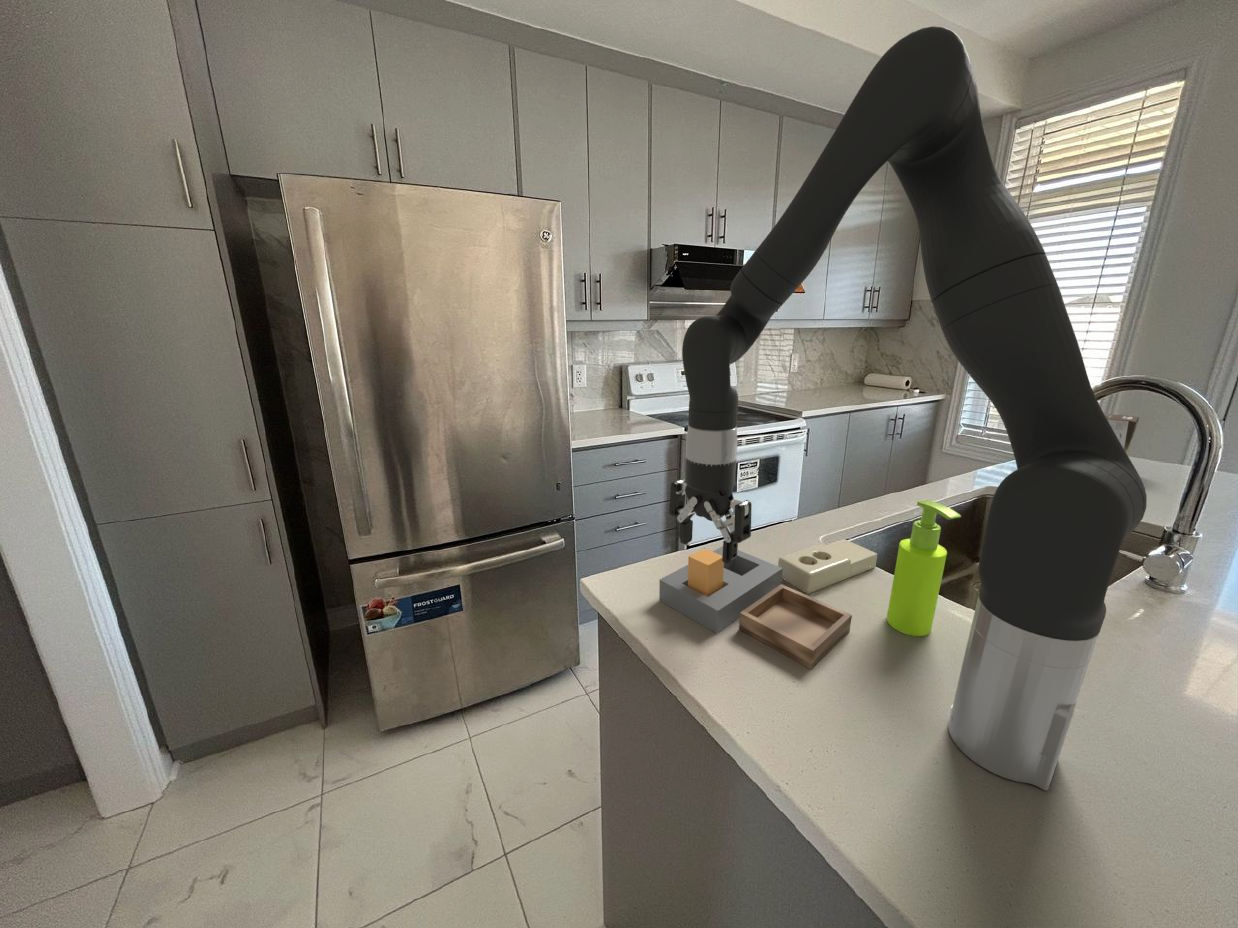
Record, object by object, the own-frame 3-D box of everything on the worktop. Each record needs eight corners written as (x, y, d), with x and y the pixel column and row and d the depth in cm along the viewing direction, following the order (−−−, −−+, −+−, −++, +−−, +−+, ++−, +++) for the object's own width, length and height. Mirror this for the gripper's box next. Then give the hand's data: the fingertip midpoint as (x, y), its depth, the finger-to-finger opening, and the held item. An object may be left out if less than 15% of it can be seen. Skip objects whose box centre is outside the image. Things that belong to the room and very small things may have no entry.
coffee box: (1118, 478, 132) (1136, 421, 127) (1087, 473, 136) (1103, 418, 132) (1122, 471, 137) (1140, 416, 133) (1092, 466, 142) (1107, 413, 137)
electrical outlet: (878, 549, 89) (810, 574, 81) (875, 568, 90) (807, 595, 82) (844, 534, 95) (778, 556, 87) (842, 553, 96) (776, 576, 88)
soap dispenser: (914, 643, 69) (939, 516, 63) (877, 616, 75) (897, 498, 69) (946, 636, 70) (974, 511, 64) (908, 609, 77) (929, 493, 71)
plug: (721, 605, 79) (724, 556, 76) (706, 615, 77) (708, 565, 74) (702, 595, 82) (704, 548, 79) (687, 604, 79) (688, 556, 77)
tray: (849, 631, 72) (851, 614, 71) (811, 669, 65) (813, 650, 64) (779, 599, 80) (781, 584, 79) (738, 629, 73) (739, 612, 72)
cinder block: (780, 588, 83) (782, 568, 82) (716, 633, 72) (717, 610, 71) (724, 563, 92) (725, 544, 91) (659, 600, 81) (659, 579, 80)
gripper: (766, 459, 69) (758, 559, 74) (691, 441, 79) (687, 529, 84) (735, 471, 64) (728, 577, 69) (659, 449, 74) (658, 543, 79)
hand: (706, 551), depth 77 cm, fingers open, 8 cm apart
